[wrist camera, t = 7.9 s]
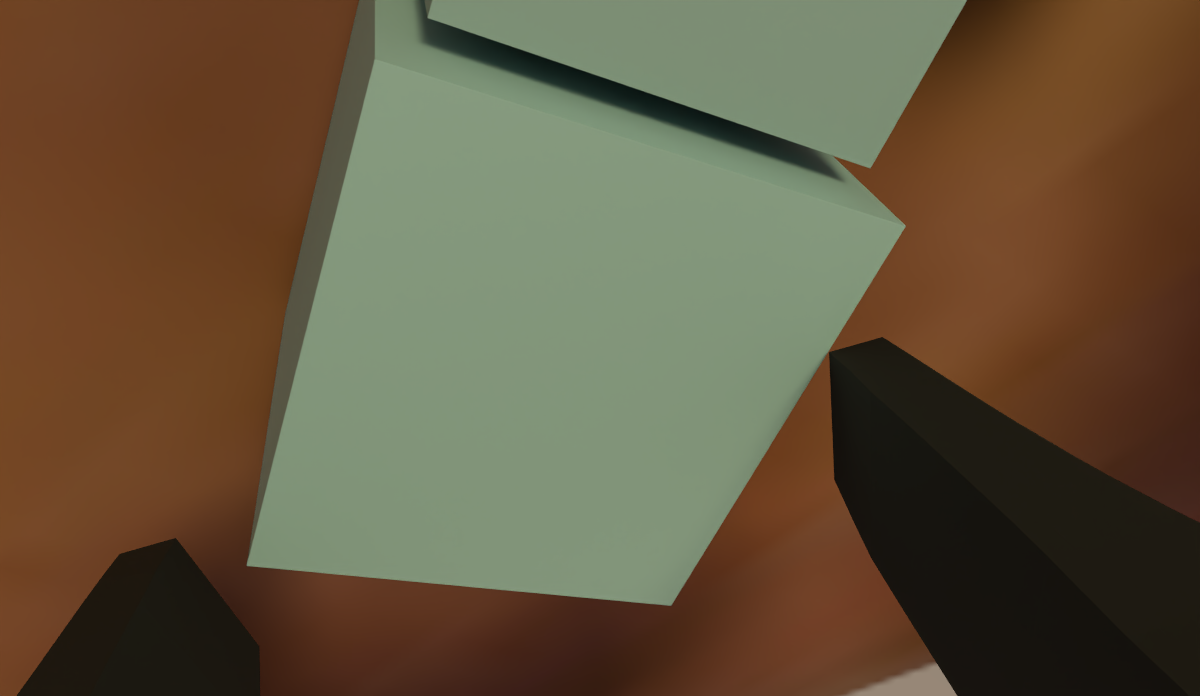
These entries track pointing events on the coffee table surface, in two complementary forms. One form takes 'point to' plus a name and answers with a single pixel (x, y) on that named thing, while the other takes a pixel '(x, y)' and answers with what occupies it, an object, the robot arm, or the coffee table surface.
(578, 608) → the coffee table surface
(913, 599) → the robot arm
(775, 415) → the end cover
